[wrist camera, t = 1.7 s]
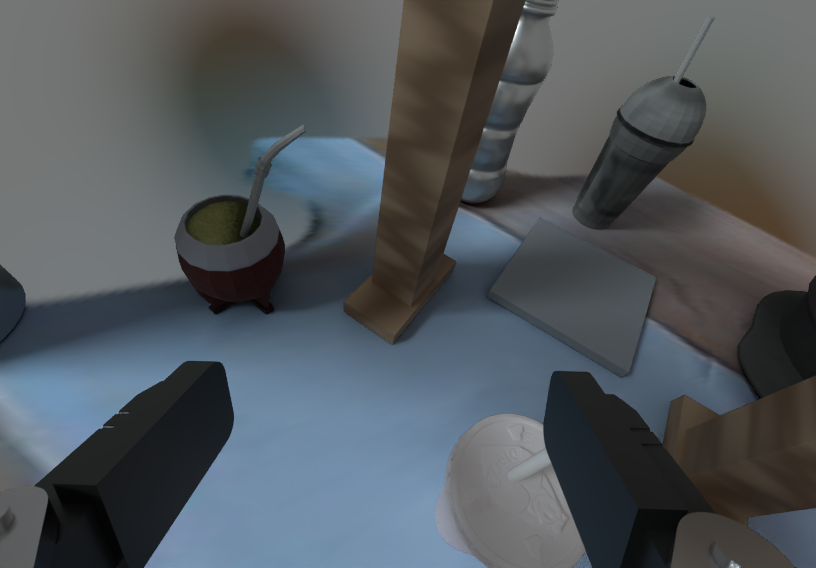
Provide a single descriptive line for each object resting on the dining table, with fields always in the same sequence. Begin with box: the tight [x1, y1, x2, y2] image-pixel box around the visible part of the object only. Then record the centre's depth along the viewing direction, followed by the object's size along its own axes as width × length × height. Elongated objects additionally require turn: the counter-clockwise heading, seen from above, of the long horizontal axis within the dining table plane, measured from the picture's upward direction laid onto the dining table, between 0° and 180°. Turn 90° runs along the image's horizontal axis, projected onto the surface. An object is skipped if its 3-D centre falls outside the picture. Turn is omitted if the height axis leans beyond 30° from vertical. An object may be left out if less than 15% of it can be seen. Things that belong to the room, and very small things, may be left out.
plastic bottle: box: [461, 0, 559, 203], centre depth 36 cm, size 6×7×20 cm
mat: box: [486, 218, 656, 377], centre depth 36 cm, size 13×13×1 cm
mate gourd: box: [175, 125, 305, 315], centre depth 26 cm, size 8×8×15 cm
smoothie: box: [435, 414, 586, 568], centre depth 18 cm, size 6×6×14 cm
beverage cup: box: [573, 16, 715, 229], centre depth 37 cm, size 7×7×20 cm
